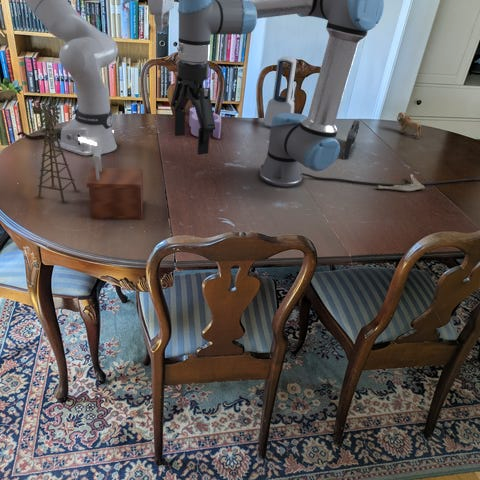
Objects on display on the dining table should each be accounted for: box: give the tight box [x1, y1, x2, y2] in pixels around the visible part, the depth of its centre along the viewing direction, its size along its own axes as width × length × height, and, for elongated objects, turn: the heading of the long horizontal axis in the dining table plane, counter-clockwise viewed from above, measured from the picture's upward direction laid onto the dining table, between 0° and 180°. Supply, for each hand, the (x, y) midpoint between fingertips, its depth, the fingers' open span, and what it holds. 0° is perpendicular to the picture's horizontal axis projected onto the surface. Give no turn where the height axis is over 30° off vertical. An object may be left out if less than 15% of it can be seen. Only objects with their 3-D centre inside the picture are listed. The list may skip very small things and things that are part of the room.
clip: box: [188, 107, 222, 140], centre depth 199 cm, size 20×12×7 cm, turn 23°
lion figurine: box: [396, 111, 424, 139], centre depth 219 cm, size 15×5×9 cm, turn 50°
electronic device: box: [263, 56, 298, 128], centre depth 205 cm, size 12×8×30 cm, turn 71°
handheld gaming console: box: [342, 119, 361, 159], centre depth 194 cm, size 23×3×10 cm, turn 161°
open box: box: [88, 174, 144, 220], centre depth 136 cm, size 14×10×10 cm
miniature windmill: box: [31, 95, 78, 203], centre depth 135 cm, size 9×8×30 cm
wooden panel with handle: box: [86, 147, 144, 189], centre depth 131 cm, size 14×10×9 cm
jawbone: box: [376, 173, 426, 193], centre depth 169 cm, size 9×20×2 cm, turn 126°
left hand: (162, 28), depth 139 cm, fingers open, 8 cm apart
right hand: (190, 144), depth 124 cm, fingers open, 13 cm apart
